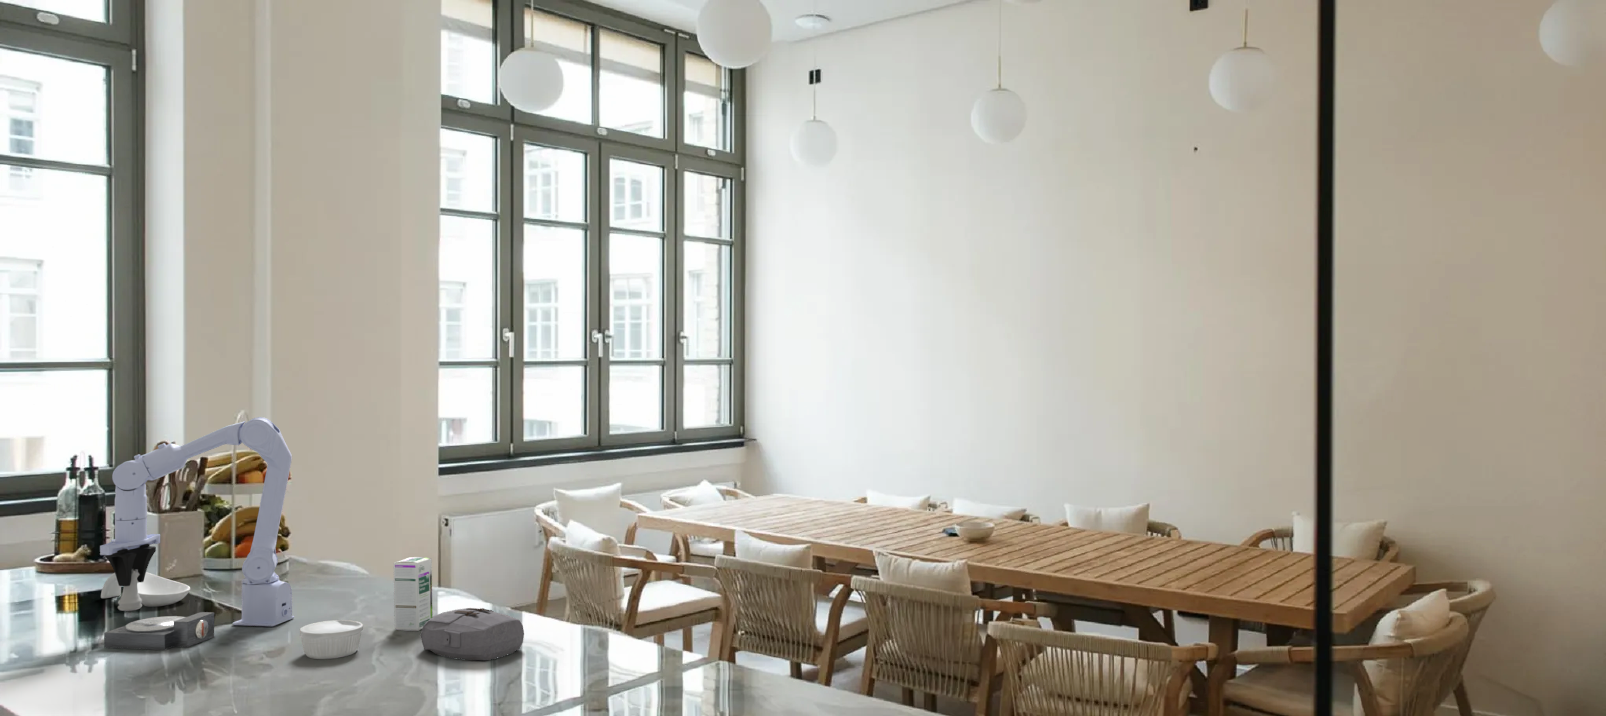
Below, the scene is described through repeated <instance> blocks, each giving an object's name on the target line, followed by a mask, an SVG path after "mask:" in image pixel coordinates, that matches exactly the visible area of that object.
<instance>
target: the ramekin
mask: <svg viewBox="0 0 1606 716" xmlns="http://www.w3.org/2000/svg"><path fill="white" fill-rule="evenodd" d="M363 629H364V624H363V623H362V622H360V621H356V620H349V619H348V620H347V619H333V620H324V621H318V622H317V621H316V622H314V623H309V624H306V625H304V626H302V627H300V628H299V636H300V637H301V643H302V649H303V653H304V655H305V656H306V657H307V658H310V659H313V660H314V659H315V660H331V659H339V658H344V657H347V656H351V655H354V654H356V652H357V650H359V648H360V647H359V646H360V641H361V636H362V631H363Z"/></svg>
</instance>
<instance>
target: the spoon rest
mask: <svg viewBox="0 0 1606 716" xmlns="http://www.w3.org/2000/svg"><path fill="white" fill-rule="evenodd" d="M137 589H138V594H139V595H140V598H141V599H142V602H141V603H140V604H142V606H145V607H163V606H165V607H166V606H169V605H174V604H176V603H178V602H179V601H182V599H184V598H185V597H186V596H187V595H188V593H189V592H190V591H191V587H190V586H189V585H187V584H186V583H182V582H179V581H175V580H172V579H168V578H166V577H162V576H159V575H157V574H154V573H150V572H147V571H146V574H145V578H144V581H143V582H138V583H137ZM100 592H101V593H100V598H101V599H109V598H113V597H119V596H122V586H119V584H118V581H117V578H116V575H115V572H114V573H112V574H111V575H110V576H108V578H107V579H106V580H105V582H104V583H103V586H102V588H101V591H100Z"/></svg>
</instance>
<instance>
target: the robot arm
mask: <svg viewBox="0 0 1606 716" xmlns="http://www.w3.org/2000/svg"><path fill="white" fill-rule="evenodd" d="M241 444H243V445H244V446H245V447H247V448H249V449H250V450H252V451H254V452H255V453H257V454H258V455H259V456H260V458H261V459H263V461H264V462H265V463H266V465H267V466H266V472H265V475H264V476H265V477H264V483H263V487H262V492H261V498H260V503H259V509H258V514H257V518H256V519H257V520H256V524H255V529H254V534H253V539H252V543H251V547H250V550H249V551H250V552H249V553H248V554H247V556H246V559H245V560H244V561H243V563H242V567H241V571H242V575H243V576H244V578H242V579H241V618H240V619H239V620H236V621H234V622H232V626H246V627H247V626H250V627H251V626H252V627H253V626H254V627H255V626H256V627H275V626H278V625H280V624H282V623H285V622H287V621H289V620H292V619H294V618H295V615H293V590H292V589H293V588H292V586H291V584H290V583H288V582H286V581H282V580H280V576H279V575H278V574H277V573H276V572H275V569H276V567H277V565H278V562H279V560H278V559H279V558H278V554H277V550H276V548H277V541H278V533H279V530H280V529H279V528H280V522H281V518H282V514H283V508H284V503H285V497H286V493H287V492H286V491H287V487H288V481H289V476H290V470H291V465H292V460H293V458H292V457H293V455H292V452H291V451H290V449H289V446H288V445H287V443H286V441H285V439H284V436H283V434H282V432H281V430H280V428H279V427H278V426H277V425H276V424H275V423H274V422H272V421H271V420H270V419H269V418H266V417H264V416H258V417H254V418H252V419H250V420H247V421H246V420H243V421H241V422H236V423H234V424H233V423H232V424H229V425H226V426H224V427H221V428H218V429H216V430H214V431H211V432H210V433H208V434H205V435H203V436H201V437H198V438H196V439H194V440H191V441H190V442H187V443H185V444H182V445H178V444H176V443H168V444H166V442H163V443H161V444H159V445H157V449H154V450H151V451H150V452H149V451H148V452H147V453H145V454H142V455H141V454H139V453H138V454H136V455H134V456H133V458H134V459H133V460H127V461H124V462H122V463H121V464H118V465H117V466H116V467H115V469H114V470H113V472H112V476H111V477H112V478H111V479H112V482H113V484H114V485H115V490H114V493H115V497H114V539H110V542H108V543H105V544H102V545H99V552H100V553H99V555H100V556H105V558H106V559H107V560H108V562H109V564H110V565H111V567H112V569H113V571H114V573H115V575H116V578H117V581H118V584H119V586H121V587H124V586H130V583H131V576H132V569H134V571H135V569H138V573H139V574H140V575H139V576H138V577H137V580H138V582H143V581H144V578H145V574H146V572H147V571H148V567H149V564H150V562H151V560H152V558H153V556H154V554H155V553H156V551H157V549H156V546H150V545H154V544H155V545H157V544H160V543H161V534H160V533H151V534H148V518H147V517H148V503H147V502H148V496H147V484H146V483H147V482H148V481H155V480H157V479H159V478H162V477H165V476H167V475H169V474H172V473H175V472H176V471H177V472H178V471H179V470H181V469H183V468H184V467H185V466H186V463H187V461H188V459H192V458H193V457H195V456H199V455H201V454H203V453H204V454H205V453H206V452H209V451H212V450H214V449H216V448H219V447H222V446H225V445H229V446H240V445H241Z"/></svg>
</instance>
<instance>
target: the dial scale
mask: <svg viewBox="0 0 1606 716" xmlns="http://www.w3.org/2000/svg"><path fill="white" fill-rule="evenodd" d="M103 634H104V635H103V639H104V641H103V642H104V643H103V648H105V649H128V650H155V651H156V650H158V651H160V650H161V651H167V650H169V649H171V648H189V647H191V646H194V645H197V644H199V643H202V642H205V641H208V640H210V639H212V638H215V612H211V611H210V612H208V611H206V612H205V611H200V612H197V613H195V614H194V613H193V614H192V615H189V616H180V615H179V616H177V615H171V616H156V617H155V616H150V617H147V618H143V619H138V620H134V621H131V622H129V623H127V624H126V625H123V626H120V627H117V628H114V629H111V630H109V631H108V630H107V631H105V632H103Z"/></svg>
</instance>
